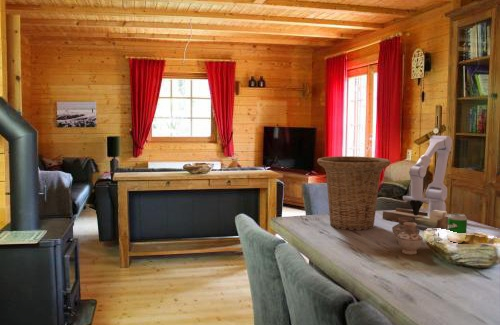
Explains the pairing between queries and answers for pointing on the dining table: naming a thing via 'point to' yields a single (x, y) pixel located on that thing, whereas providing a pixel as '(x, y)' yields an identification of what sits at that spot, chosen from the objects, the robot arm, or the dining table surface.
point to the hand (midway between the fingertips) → (415, 215)
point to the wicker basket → (352, 189)
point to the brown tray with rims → (415, 217)
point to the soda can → (457, 223)
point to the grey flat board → (423, 226)
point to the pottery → (407, 235)
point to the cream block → (437, 215)
